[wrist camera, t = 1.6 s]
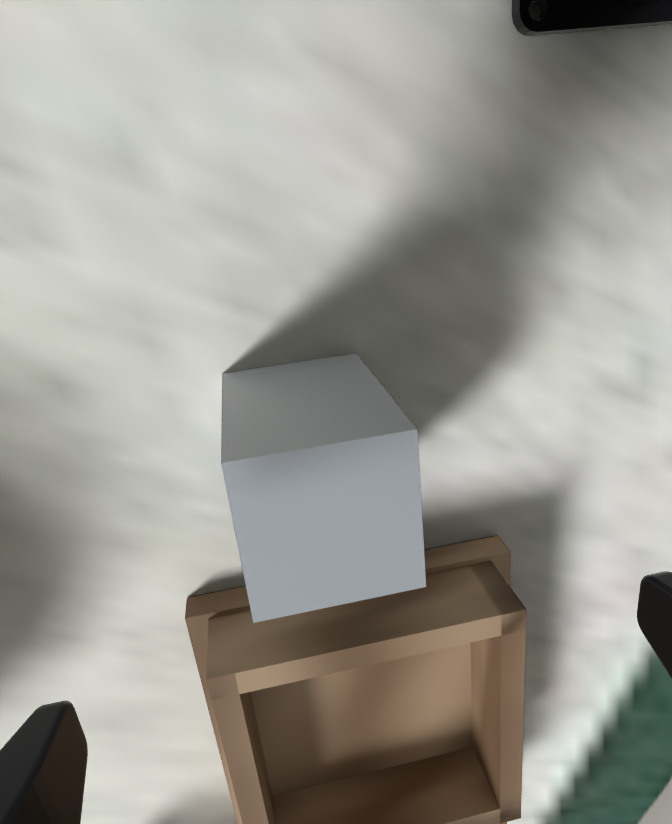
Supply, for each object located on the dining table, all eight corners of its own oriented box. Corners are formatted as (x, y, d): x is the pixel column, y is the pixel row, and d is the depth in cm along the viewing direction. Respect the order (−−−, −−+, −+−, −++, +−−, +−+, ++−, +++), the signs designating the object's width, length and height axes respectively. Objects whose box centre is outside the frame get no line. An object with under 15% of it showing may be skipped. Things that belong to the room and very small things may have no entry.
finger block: (355, 353, 17) (417, 429, 12) (368, 483, 19) (427, 603, 13) (222, 373, 17) (221, 462, 11) (247, 505, 18) (256, 640, 13)
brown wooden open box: (497, 535, 21) (597, 661, 15) (496, 811, 26) (569, 977, 21) (186, 598, 19) (172, 761, 14) (256, 875, 25) (265, 1070, 19)
